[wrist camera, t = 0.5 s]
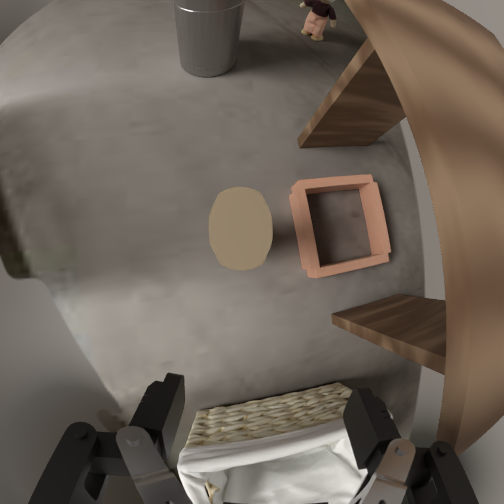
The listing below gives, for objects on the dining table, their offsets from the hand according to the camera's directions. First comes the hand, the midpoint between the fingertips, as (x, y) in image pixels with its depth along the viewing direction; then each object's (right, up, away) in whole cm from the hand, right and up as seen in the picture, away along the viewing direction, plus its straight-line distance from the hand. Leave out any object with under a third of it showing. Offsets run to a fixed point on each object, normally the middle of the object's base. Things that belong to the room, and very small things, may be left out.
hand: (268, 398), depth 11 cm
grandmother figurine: (+10, +49, +28) cm, 57 cm away
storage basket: (+3, -21, +24) cm, 32 cm away
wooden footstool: (+11, +10, +26) cm, 31 cm away
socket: (+11, +10, +26) cm, 31 cm away
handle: (-4, +8, +25) cm, 26 cm away
